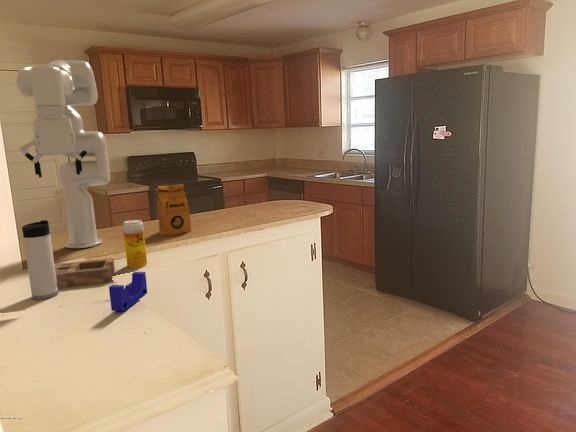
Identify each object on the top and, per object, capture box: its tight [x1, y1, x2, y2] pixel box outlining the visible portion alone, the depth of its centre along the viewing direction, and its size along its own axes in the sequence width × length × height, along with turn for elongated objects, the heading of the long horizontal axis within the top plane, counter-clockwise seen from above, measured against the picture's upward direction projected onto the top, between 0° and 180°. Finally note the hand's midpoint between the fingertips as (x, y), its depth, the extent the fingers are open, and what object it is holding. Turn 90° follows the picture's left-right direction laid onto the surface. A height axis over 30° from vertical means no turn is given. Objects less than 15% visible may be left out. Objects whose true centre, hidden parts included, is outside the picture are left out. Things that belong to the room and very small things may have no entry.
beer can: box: [122, 219, 148, 269], centre depth 144 cm, size 6×6×15 cm
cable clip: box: [108, 271, 148, 312], centre depth 115 cm, size 12×4×6 cm, turn 169°
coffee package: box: [156, 183, 193, 237], centre depth 182 cm, size 10×12×22 cm
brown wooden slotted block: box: [54, 257, 116, 289], centre depth 134 cm, size 12×17×4 cm
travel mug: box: [21, 219, 59, 301], centre depth 120 cm, size 6×7×20 cm
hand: (59, 175), depth 127 cm, fingers open, 9 cm apart
